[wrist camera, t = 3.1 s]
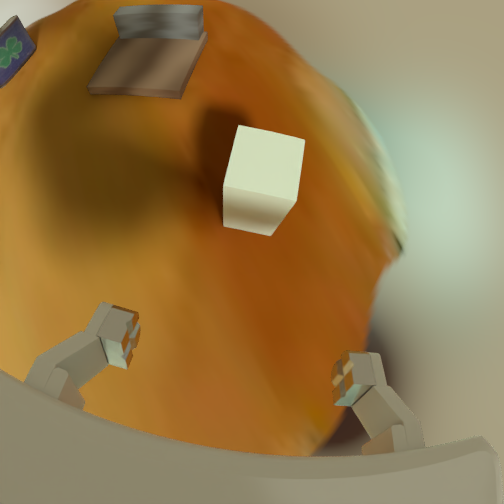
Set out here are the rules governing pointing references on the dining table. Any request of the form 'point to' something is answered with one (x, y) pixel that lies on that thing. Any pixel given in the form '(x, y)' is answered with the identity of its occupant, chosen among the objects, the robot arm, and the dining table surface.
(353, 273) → the dining table surface
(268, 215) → the cabinet block
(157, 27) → the display stand
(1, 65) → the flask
